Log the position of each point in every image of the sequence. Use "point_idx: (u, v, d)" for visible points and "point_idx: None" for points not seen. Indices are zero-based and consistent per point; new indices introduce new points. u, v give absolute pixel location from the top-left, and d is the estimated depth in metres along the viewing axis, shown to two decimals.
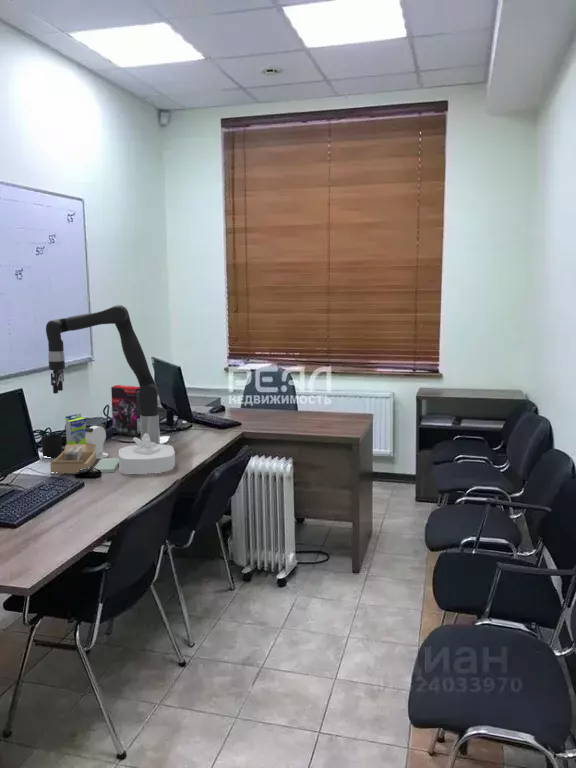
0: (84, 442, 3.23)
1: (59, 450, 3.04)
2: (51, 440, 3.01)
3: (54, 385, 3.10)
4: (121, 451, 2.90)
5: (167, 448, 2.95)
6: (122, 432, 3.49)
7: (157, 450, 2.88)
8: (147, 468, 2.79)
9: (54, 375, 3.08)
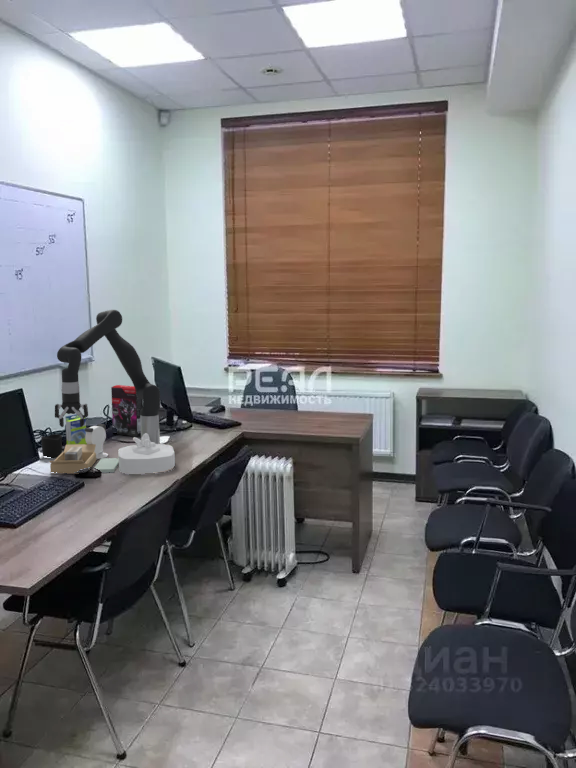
0: (84, 442, 3.23)
1: (59, 450, 3.04)
2: (51, 440, 3.01)
3: (85, 417, 2.85)
4: (121, 451, 2.90)
5: (166, 448, 2.95)
6: (122, 432, 3.49)
7: (157, 450, 2.88)
8: (147, 468, 2.80)
9: None
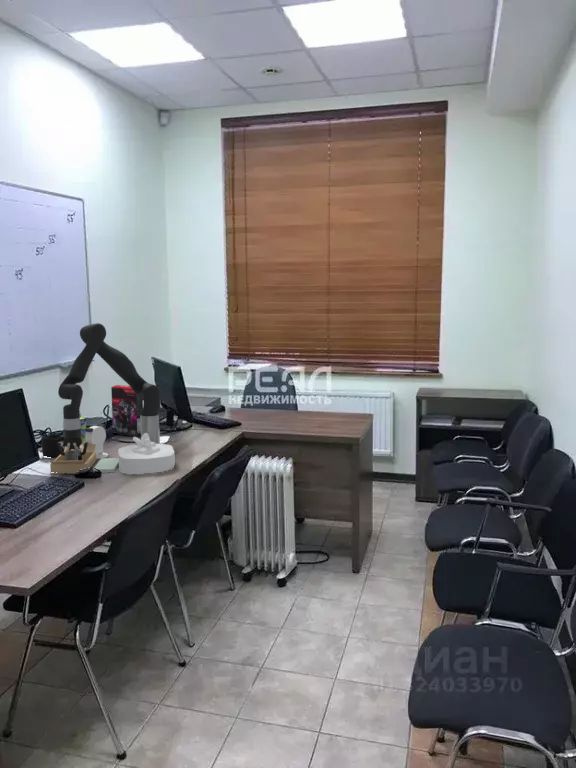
0: None
1: None
2: (51, 440, 3.01)
3: (83, 454, 2.88)
4: (121, 451, 2.90)
5: (166, 448, 2.96)
6: (122, 432, 3.49)
7: (157, 450, 2.89)
8: (147, 468, 2.80)
9: (87, 444, 2.88)
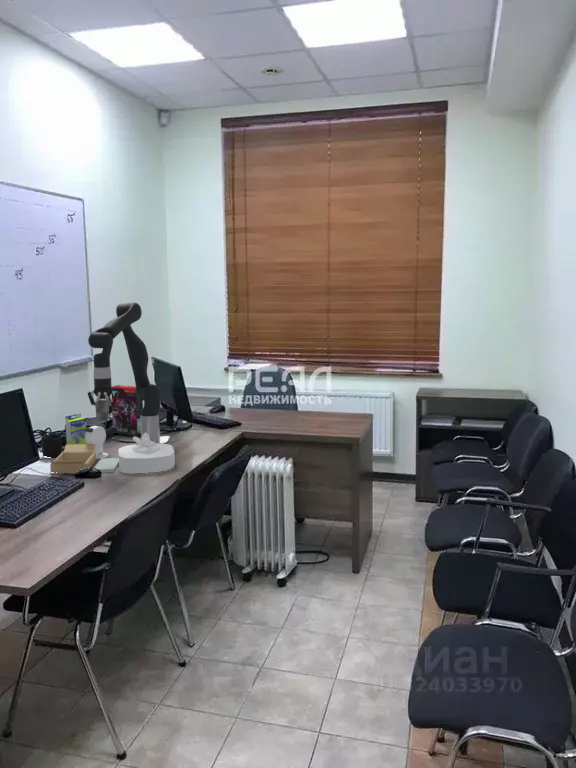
0: (84, 442, 3.23)
1: (59, 450, 3.04)
2: (51, 440, 3.01)
3: None
4: (121, 450, 2.91)
5: (167, 447, 2.96)
6: (122, 432, 3.49)
7: (157, 449, 2.89)
8: (147, 468, 2.81)
9: None
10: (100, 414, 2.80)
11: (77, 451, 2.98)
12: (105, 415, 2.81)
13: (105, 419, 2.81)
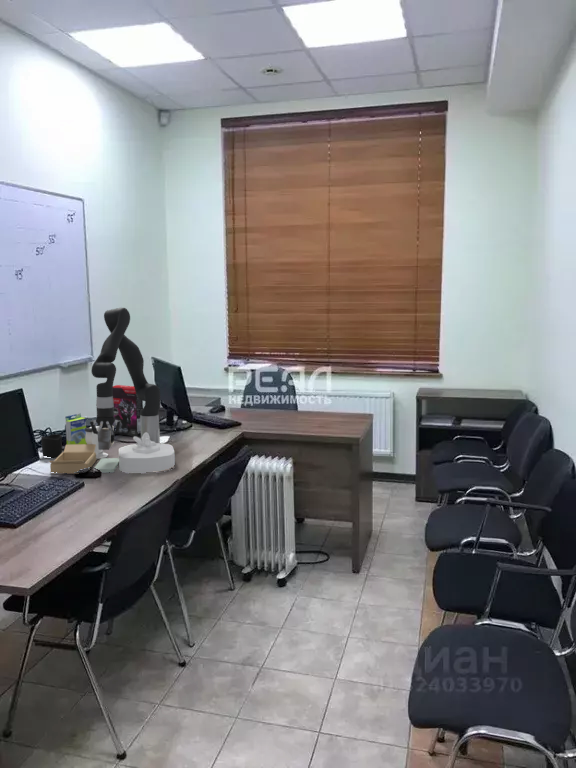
0: (84, 442, 3.23)
1: (59, 450, 3.04)
2: (51, 440, 3.01)
3: None
4: (121, 450, 2.91)
5: (167, 447, 2.97)
6: (122, 432, 3.49)
7: (157, 449, 2.90)
8: (147, 467, 2.81)
9: (120, 423, 2.88)
10: (102, 443, 2.82)
11: (77, 451, 2.98)
12: (107, 444, 2.83)
13: (107, 448, 2.83)
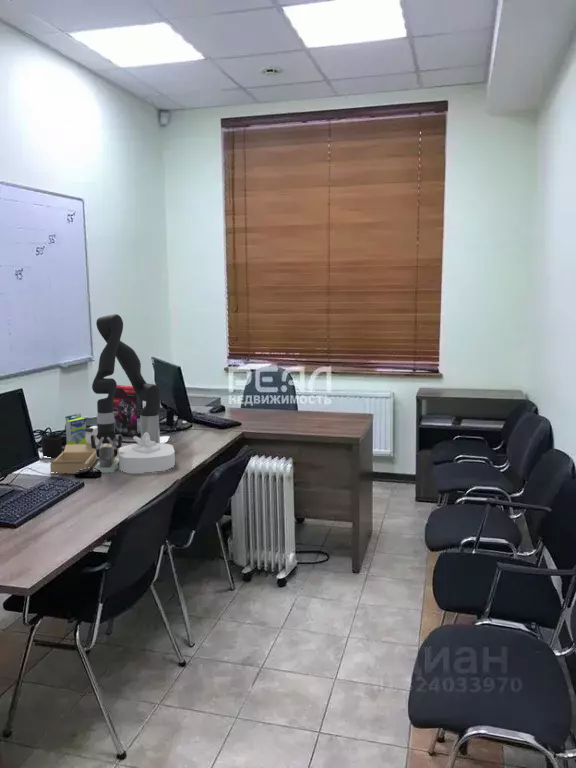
0: (84, 442, 3.23)
1: (59, 450, 3.04)
2: (51, 440, 3.01)
3: (119, 447, 2.89)
4: (121, 450, 2.92)
5: (167, 447, 2.97)
6: (122, 432, 3.49)
7: (157, 449, 2.90)
8: (147, 467, 2.82)
9: (121, 436, 2.89)
10: (104, 461, 2.84)
11: (77, 451, 2.98)
12: (108, 462, 2.84)
13: (108, 466, 2.84)
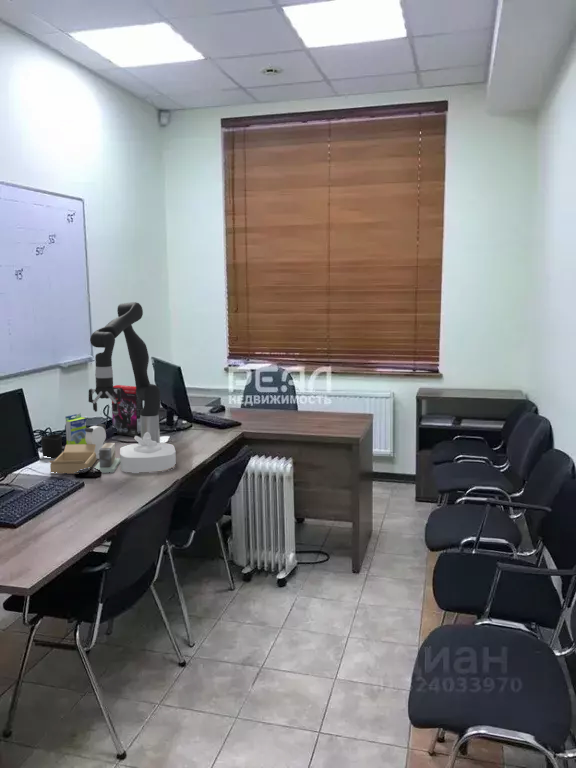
0: (84, 442, 3.23)
1: (59, 450, 3.04)
2: (51, 440, 3.01)
3: (119, 401, 2.86)
4: (122, 449, 2.92)
5: (168, 447, 2.98)
6: (122, 432, 3.49)
7: (158, 449, 2.90)
8: (148, 467, 2.82)
9: (120, 390, 2.86)
10: (104, 461, 2.84)
11: (77, 451, 2.98)
12: (108, 462, 2.84)
13: (108, 466, 2.84)
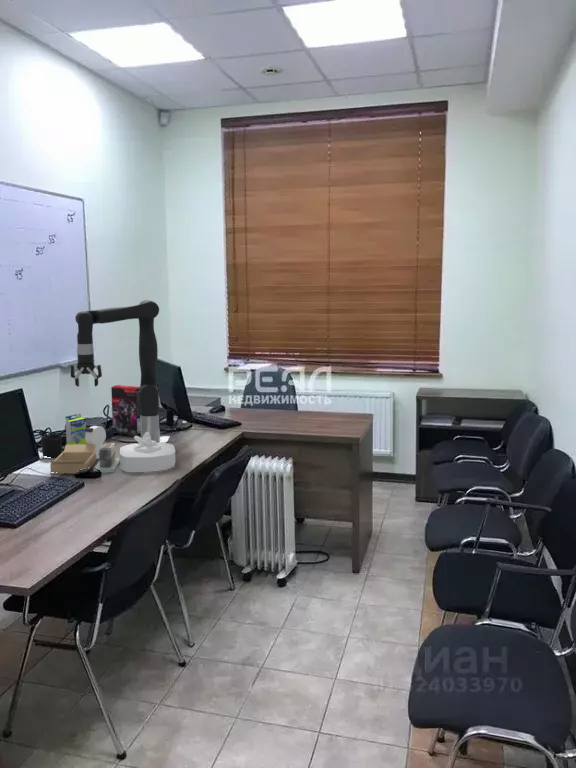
0: (84, 442, 3.23)
1: (59, 450, 3.04)
2: (51, 440, 3.01)
3: (99, 377, 3.05)
4: (122, 449, 2.93)
5: (168, 446, 2.98)
6: (122, 432, 3.49)
7: (158, 448, 2.91)
8: (148, 467, 2.82)
9: (100, 366, 3.05)
10: (104, 461, 2.84)
11: (77, 451, 2.98)
12: (108, 462, 2.84)
13: (108, 466, 2.84)
